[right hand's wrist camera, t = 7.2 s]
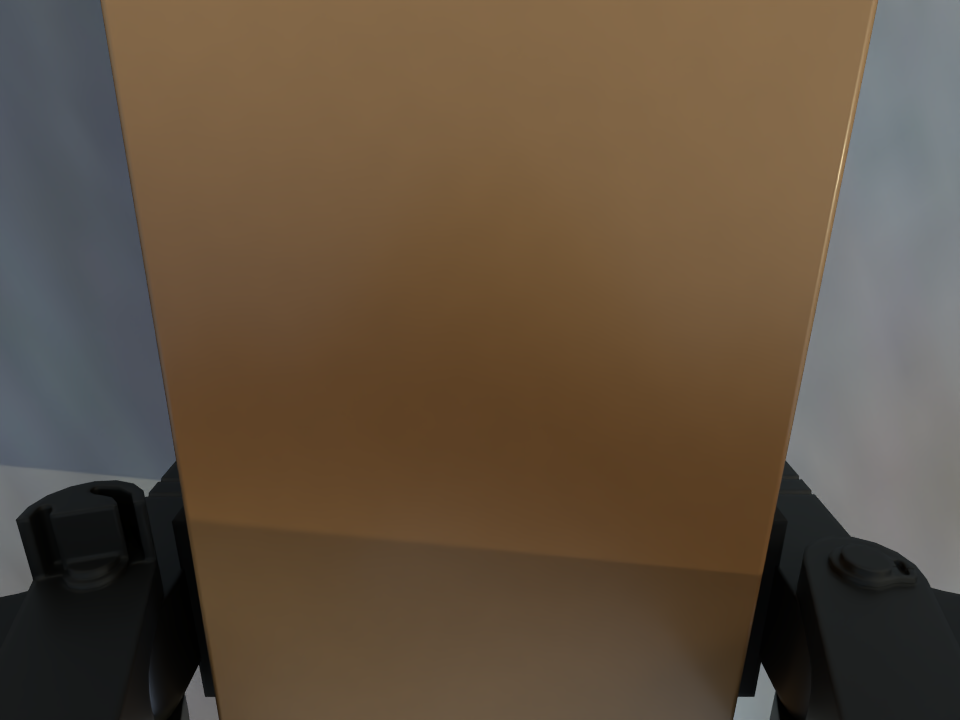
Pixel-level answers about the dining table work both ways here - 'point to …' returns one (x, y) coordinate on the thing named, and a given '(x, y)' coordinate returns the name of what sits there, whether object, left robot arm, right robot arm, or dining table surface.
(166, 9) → the beam
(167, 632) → the right robot arm
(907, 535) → the dining table surface
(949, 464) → the dining table surface
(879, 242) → the dining table surface
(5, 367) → the dining table surface
